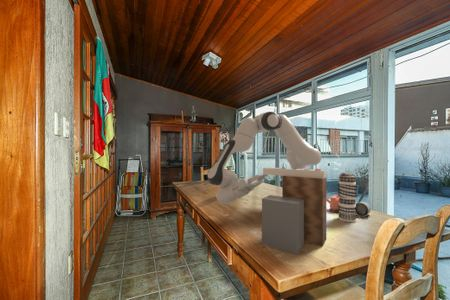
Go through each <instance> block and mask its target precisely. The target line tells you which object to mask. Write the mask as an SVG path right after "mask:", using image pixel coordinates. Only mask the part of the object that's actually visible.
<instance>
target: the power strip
mask: <svg viewBox="0 0 450 300" xmlns="http://www.w3.org/2000/svg"><path fill="white" fill-rule="evenodd" d="M262 172H263V173H262V175H263V174H266V175H268V176H270V175H271V176H280V177H281V176H294V177H308V178H322V179H324V178H326V179H327V176H326V172H327V171H326V170H324V169H321V168H314V169H310V168H307V169H291V167H290V168H287V167H268V166H267V167H263V168H262Z"/></svg>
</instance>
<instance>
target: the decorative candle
mask: <svg viewBox="0 0 450 300" xmlns="http://www.w3.org/2000/svg"><path fill="white" fill-rule="evenodd" d="M356 184H357V183H356V175H355V174H354V173H352V172H340V174H339V175H338V184H337V186H338V187H337V193H338V194H337V195H338V197H339V206H338V207H339V208H338V209H339V210H340V211H339V210H337V212H338V217H337V219H338V220H340V221H343V222H348V223H355V222H357V216H358V215H357V214H356V213H355V212H356V210H355V209H357V208H356V199H357V197H358V196H357V193H358V192H356V191H358V189H357V187H358V186H357V185H356Z"/></svg>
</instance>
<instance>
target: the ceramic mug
mask: <svg viewBox="0 0 450 300" xmlns="http://www.w3.org/2000/svg"><path fill="white" fill-rule="evenodd" d="M355 204H356V208H357V209H355V210H356V212H355V213H356V214H357V215H356V216H358V217H361V218H362V217H366V216H368V215H369V214H370V212H371V211H372V208H371V205H370V204H369V203H368V202H365V201H359V202H357V203H356V202H355Z"/></svg>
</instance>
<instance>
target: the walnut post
mask: <svg viewBox="0 0 450 300" xmlns="http://www.w3.org/2000/svg"><path fill="white" fill-rule="evenodd" d="M281 178H282V179H281V181H282V182H281V184H282V185H281V187H282V189H281V190H282V193H281V195H282V196H281V197H288V198H295V199H303V200H304V243H308V244H311V245H312V244H313V245H315V246H316V245H317V246H320V247H323V246H324V245H325V243H326V241H327V201H326V197H327V177H326V178H324V179H322V178H308V177H294V176H282V177H281Z"/></svg>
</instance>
